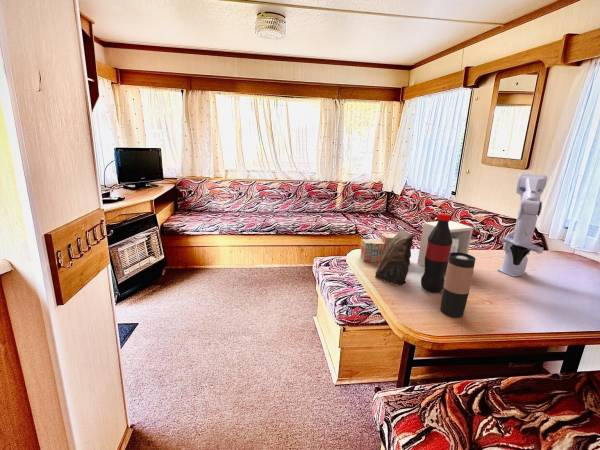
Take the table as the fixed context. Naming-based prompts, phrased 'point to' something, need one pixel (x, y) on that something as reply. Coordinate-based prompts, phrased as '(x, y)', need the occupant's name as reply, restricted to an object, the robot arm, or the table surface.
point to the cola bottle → (437, 255)
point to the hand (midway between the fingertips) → (516, 264)
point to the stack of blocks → (375, 248)
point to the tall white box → (455, 229)
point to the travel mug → (457, 284)
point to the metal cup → (454, 244)
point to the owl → (396, 259)
